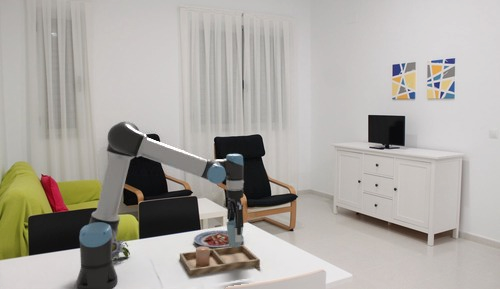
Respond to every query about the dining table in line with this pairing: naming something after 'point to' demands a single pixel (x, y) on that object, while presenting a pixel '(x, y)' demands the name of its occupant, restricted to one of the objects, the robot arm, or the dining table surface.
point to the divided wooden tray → (221, 260)
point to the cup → (233, 234)
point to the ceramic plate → (213, 239)
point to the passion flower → (119, 249)
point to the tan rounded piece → (202, 256)
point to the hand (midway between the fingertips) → (235, 238)
